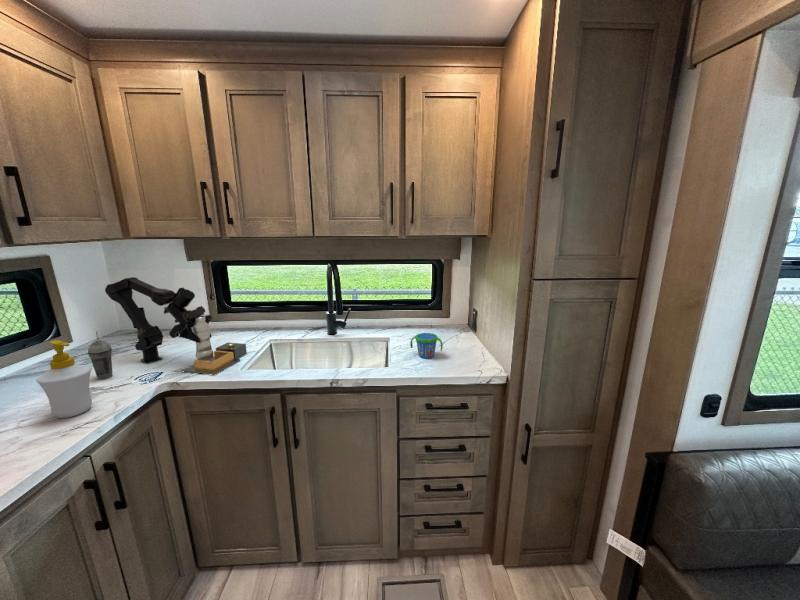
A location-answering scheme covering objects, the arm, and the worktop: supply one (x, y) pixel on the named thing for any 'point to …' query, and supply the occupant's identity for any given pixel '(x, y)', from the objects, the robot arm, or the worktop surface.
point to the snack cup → (426, 344)
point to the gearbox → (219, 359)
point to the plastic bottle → (202, 339)
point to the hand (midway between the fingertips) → (205, 339)
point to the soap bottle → (66, 384)
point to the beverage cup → (101, 358)
